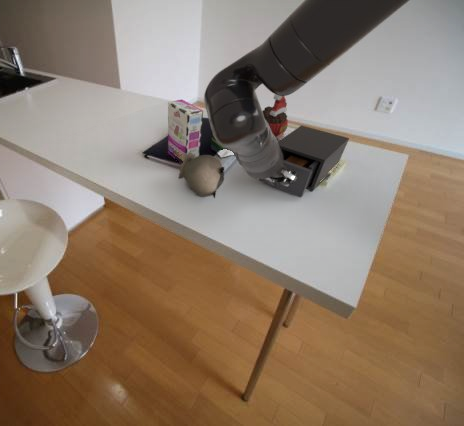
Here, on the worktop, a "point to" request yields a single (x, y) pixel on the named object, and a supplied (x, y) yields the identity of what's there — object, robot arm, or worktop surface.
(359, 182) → the worktop surface
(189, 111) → the candy bar box
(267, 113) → the cake
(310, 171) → the drawer
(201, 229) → the worktop surface
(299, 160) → the block
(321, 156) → the cabinet
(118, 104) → the worktop surface
